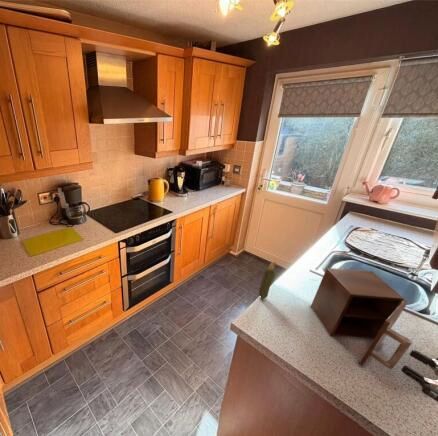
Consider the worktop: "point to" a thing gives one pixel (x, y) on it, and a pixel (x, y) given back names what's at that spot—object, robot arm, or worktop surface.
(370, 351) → the shelf door
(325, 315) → the cupboard
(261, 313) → the worktop surface
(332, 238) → the worktop surface
